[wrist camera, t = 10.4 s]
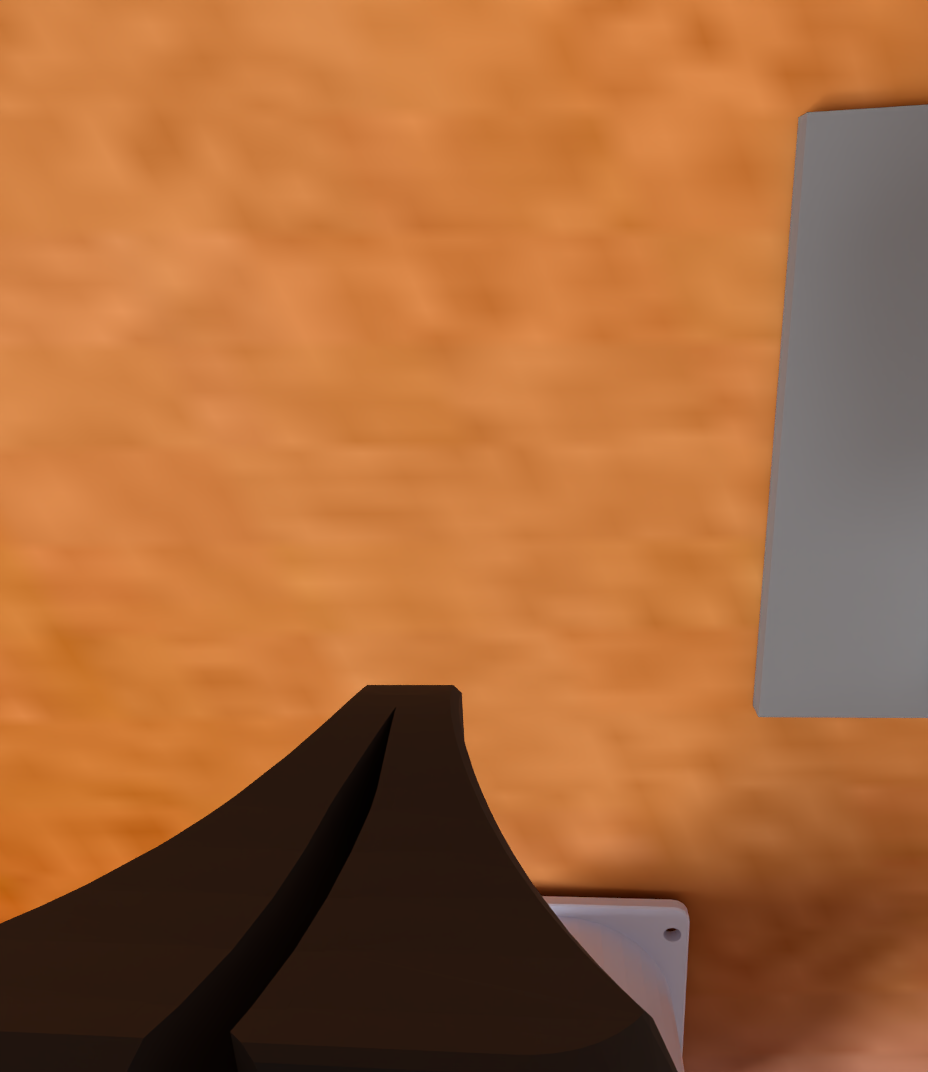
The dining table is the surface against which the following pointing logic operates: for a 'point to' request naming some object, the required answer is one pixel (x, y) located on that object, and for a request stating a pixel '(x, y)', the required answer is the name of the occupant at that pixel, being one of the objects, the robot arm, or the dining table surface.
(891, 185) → the mat
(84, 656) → the dining table surface
